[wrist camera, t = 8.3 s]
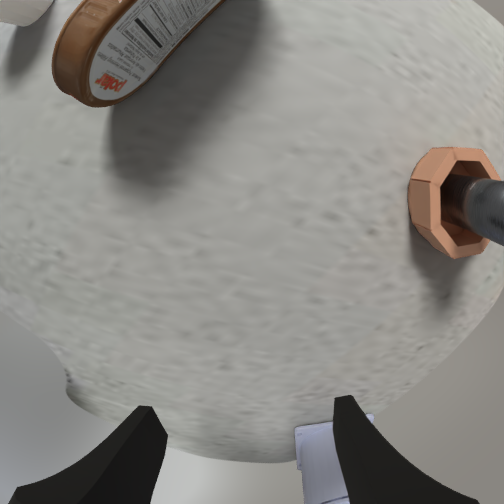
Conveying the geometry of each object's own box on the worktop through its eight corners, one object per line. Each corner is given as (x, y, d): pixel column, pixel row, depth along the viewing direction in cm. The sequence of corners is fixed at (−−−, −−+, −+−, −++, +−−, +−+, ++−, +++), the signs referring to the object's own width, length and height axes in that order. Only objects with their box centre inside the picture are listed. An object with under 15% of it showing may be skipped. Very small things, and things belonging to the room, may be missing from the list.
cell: (465, 220, 16) (541, 252, 9) (431, 223, 17) (510, 260, 9) (465, 173, 15) (546, 187, 8) (431, 173, 16) (515, 185, 8)
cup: (476, 239, 17) (498, 249, 14) (408, 249, 18) (428, 263, 15) (474, 150, 15) (499, 151, 12) (403, 147, 16) (426, 146, 13)
